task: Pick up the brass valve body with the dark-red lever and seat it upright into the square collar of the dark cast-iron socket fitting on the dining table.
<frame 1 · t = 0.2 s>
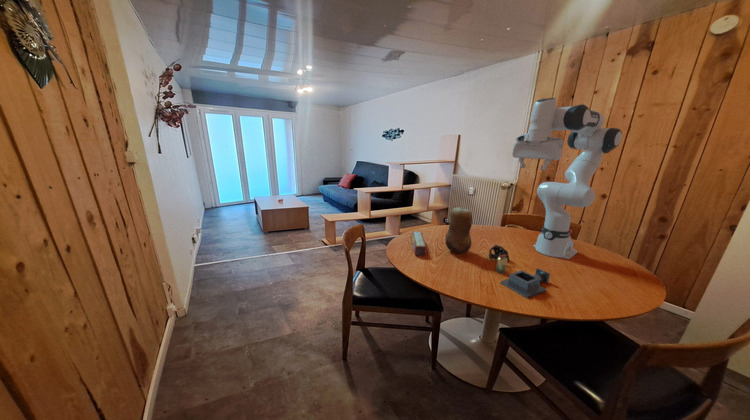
hand: (532, 168, 112), 47 cm above the table, fingers open, 8 cm apart
socket fitting: (522, 287, 103), on the table
brass valve: (500, 271, 116), on the table
butternut squash: (456, 252, 136), on the table
snack package: (418, 248, 140), on the table
black mechanical part: (497, 259, 129), on the table
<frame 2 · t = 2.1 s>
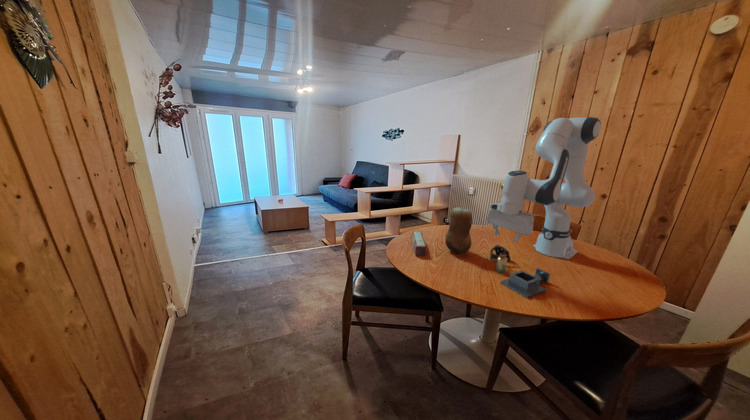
hand: (505, 237, 111), 17 cm above the table, fingers open, 8 cm apart
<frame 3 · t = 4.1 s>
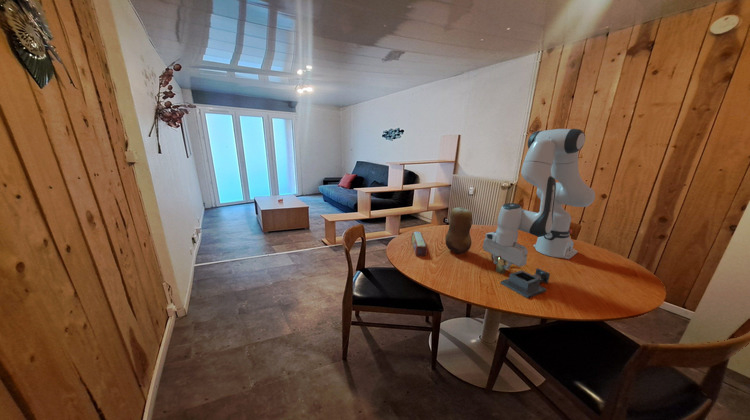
hand: (501, 266, 115), 3 cm above the table, fingers closed on brass valve, 4 cm apart
brass valve: (500, 271, 116), on the table, touching gripper
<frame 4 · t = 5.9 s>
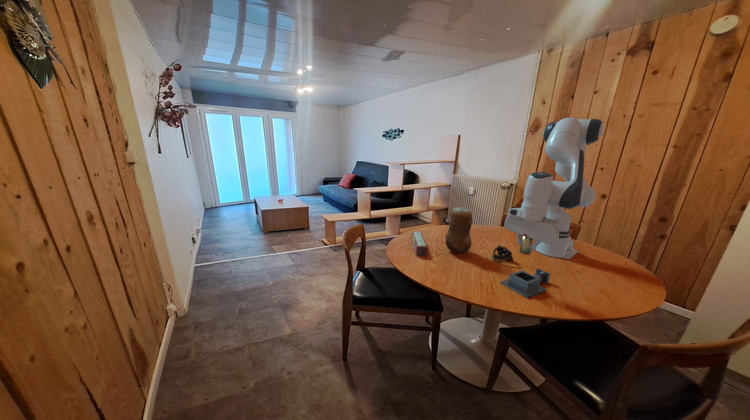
hand: (526, 246, 100), 18 cm above the table, fingers closed on brass valve, 4 cm apart
brass valve: (524, 252, 101), point 15 cm above the table, touching gripper
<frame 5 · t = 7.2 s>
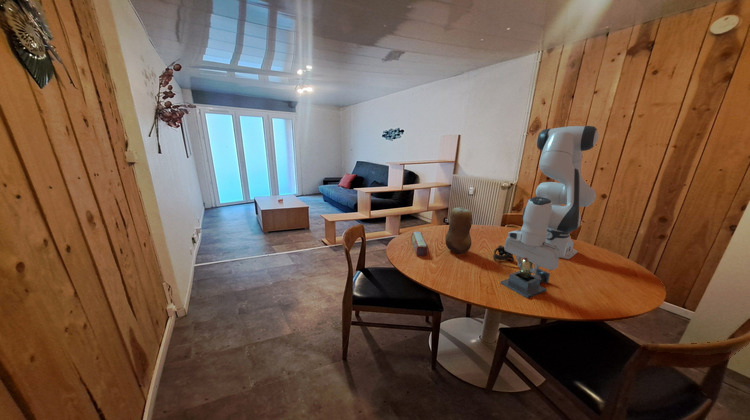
hand: (526, 269, 101), 8 cm above the table, fingers closed on brass valve, 4 cm apart
brass valve: (524, 275, 102), point 6 cm above the table, touching gripper
when the fingers open (6 cm above the table, at t = 8.0 s): brass valve drops 2 cm, resting on socket fitting.
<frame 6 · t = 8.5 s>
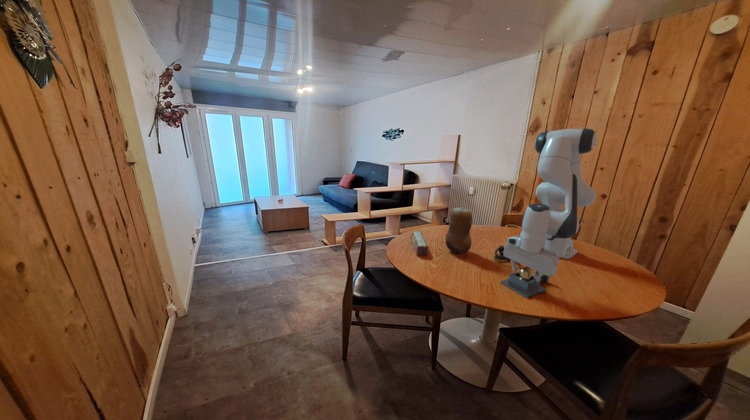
hand: (525, 275, 102), 6 cm above the table, fingers open, 8 cm apart
brass valve: (523, 285, 103), point 1 cm above the table, touching socket fitting
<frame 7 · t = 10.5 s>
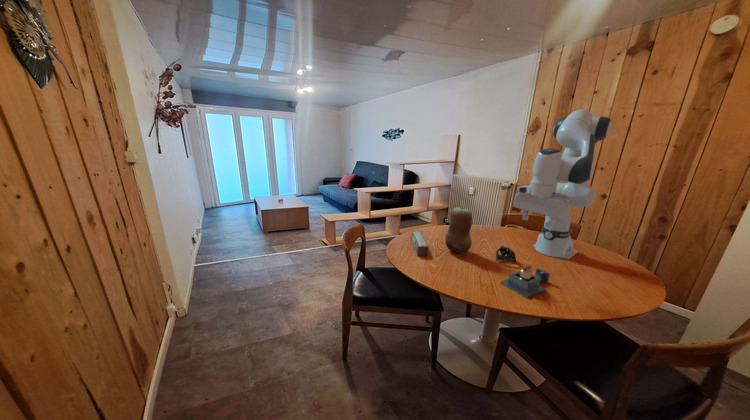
hand: (536, 223, 102), 26 cm above the table, fingers open, 8 cm apart
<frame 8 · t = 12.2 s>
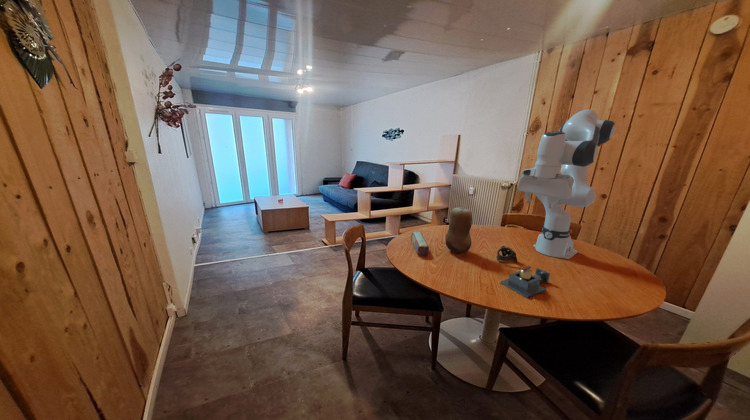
hand: (539, 205, 104), 33 cm above the table, fingers open, 8 cm apart
at the end: brass valve 0.0 cm off-centre on the socket fitting, point 1.0 cm above the socket fitting's base; brass valve tilted 1°; the gripper is holding nothing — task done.
